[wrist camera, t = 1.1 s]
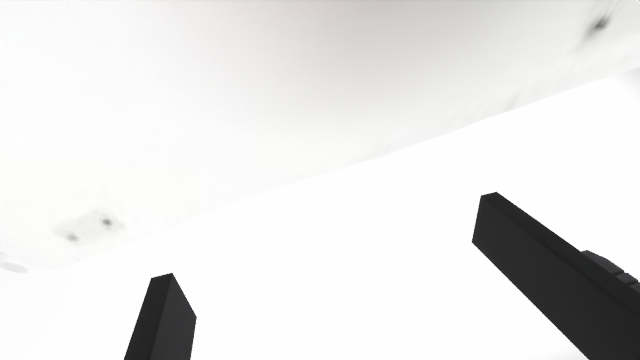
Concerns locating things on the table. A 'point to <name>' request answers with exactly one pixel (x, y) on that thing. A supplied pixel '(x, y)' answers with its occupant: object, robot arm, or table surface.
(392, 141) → the table surface
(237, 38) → the table surface
